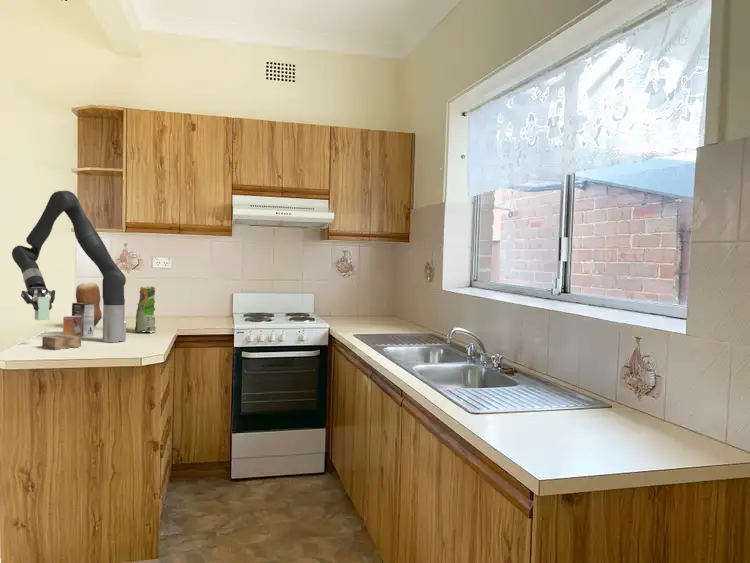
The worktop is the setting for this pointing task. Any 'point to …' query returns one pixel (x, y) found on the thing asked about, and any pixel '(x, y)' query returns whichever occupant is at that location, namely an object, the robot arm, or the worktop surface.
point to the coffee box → (85, 316)
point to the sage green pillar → (42, 308)
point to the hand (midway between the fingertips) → (43, 309)
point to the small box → (72, 325)
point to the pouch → (146, 310)
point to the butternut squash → (90, 298)
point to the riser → (61, 342)
